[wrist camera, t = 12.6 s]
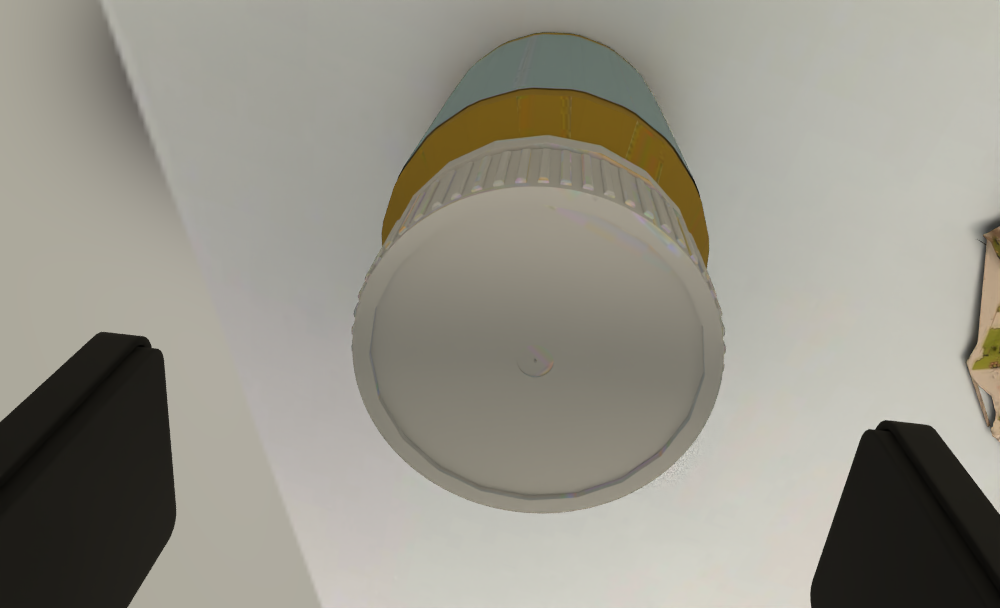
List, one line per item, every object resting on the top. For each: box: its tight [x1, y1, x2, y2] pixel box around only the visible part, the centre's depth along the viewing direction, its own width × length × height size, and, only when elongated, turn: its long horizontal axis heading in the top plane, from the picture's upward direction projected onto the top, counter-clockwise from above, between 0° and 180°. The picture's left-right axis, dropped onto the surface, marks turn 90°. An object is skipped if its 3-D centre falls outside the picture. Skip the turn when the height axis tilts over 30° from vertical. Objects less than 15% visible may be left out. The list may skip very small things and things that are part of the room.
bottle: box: [352, 33, 726, 513], centre depth 20 cm, size 7×7×15 cm
